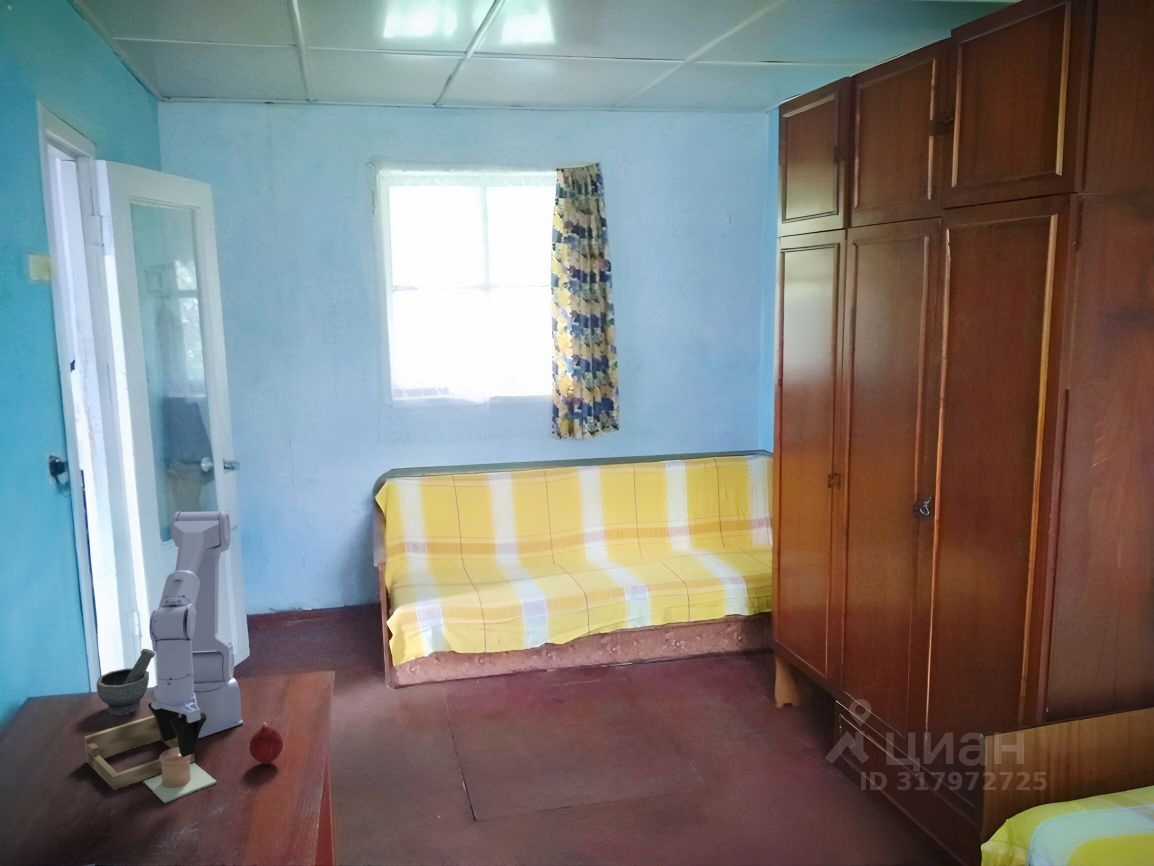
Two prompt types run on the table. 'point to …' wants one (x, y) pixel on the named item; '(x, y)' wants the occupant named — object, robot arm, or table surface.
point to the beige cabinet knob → (175, 768)
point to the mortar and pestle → (125, 686)
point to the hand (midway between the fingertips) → (178, 746)
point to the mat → (196, 783)
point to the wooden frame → (121, 741)
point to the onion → (266, 744)
